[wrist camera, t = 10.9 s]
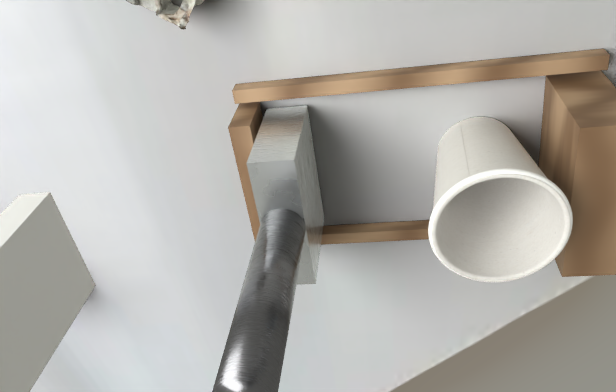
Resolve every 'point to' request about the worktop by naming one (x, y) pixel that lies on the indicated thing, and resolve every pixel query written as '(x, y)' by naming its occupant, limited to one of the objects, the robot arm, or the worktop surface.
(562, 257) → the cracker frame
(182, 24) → the egg carton
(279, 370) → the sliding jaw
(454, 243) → the dixie cup
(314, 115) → the worktop surface
